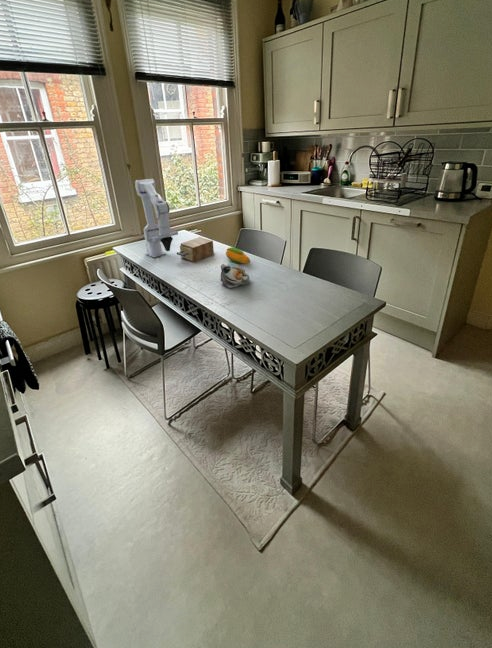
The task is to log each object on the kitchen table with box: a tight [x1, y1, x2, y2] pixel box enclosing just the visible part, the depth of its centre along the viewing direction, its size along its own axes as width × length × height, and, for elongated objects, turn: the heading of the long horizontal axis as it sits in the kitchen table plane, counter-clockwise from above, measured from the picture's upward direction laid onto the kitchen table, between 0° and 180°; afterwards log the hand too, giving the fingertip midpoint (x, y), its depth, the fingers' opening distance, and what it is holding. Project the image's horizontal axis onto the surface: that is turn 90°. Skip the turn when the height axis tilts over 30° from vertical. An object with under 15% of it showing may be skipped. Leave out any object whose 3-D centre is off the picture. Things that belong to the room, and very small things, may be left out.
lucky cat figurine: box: [220, 263, 250, 289], centre depth 146 cm, size 15×12×14 cm
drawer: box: [176, 244, 194, 262], centre depth 181 cm, size 18×10×7 cm, turn 136°
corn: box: [225, 246, 251, 265], centre depth 173 cm, size 7×8×20 cm
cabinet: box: [180, 236, 215, 263], centre depth 184 cm, size 15×12×9 cm
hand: (167, 250), depth 169 cm, fingers closed
